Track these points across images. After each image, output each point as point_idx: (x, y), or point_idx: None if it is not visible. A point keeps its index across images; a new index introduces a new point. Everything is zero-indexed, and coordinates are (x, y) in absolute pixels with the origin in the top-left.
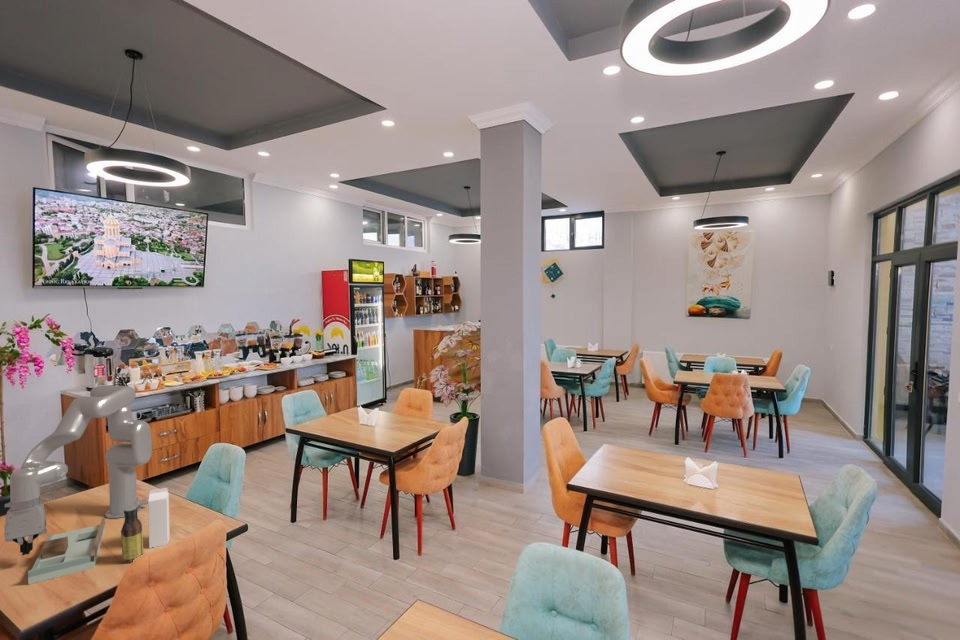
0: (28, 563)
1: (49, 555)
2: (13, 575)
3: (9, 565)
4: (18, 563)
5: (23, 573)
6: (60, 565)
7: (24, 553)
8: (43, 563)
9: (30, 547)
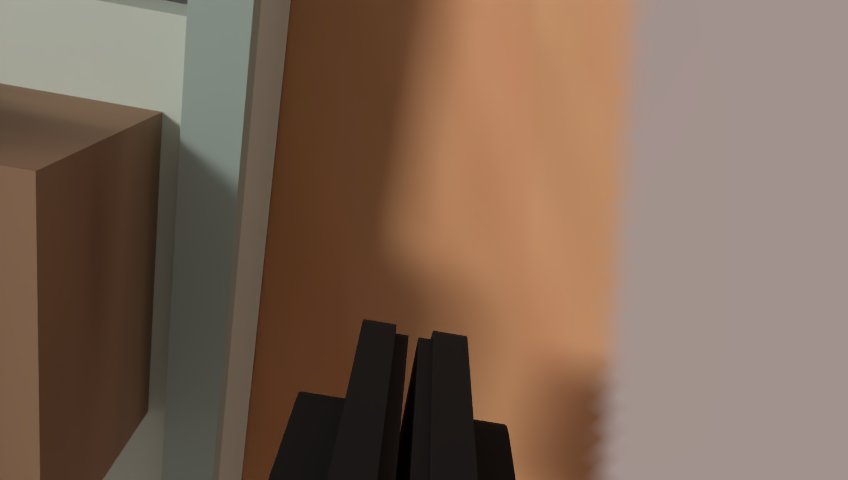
0: None
1: (19, 96)
2: (569, 68)
3: (594, 456)
4: None
5: (446, 27)
6: None
7: (429, 351)
8: (152, 2)
9: (308, 434)
